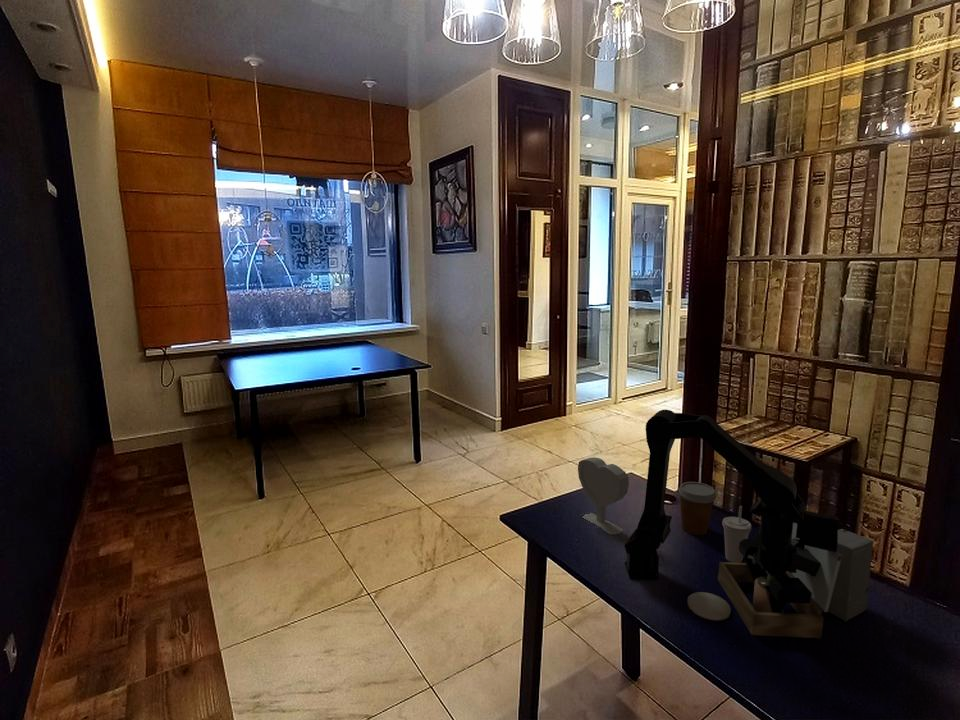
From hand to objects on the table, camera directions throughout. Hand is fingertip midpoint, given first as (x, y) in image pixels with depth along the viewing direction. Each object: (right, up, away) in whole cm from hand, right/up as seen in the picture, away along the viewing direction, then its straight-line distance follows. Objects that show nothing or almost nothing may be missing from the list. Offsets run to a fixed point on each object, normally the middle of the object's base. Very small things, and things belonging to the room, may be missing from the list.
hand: (768, 605), depth 107 cm
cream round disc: (-12, -1, +2) cm, 12 cm away
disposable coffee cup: (-1, +5, +34) cm, 34 cm away
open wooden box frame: (+2, -1, +2) cm, 3 cm away
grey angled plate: (+8, +10, 0) cm, 13 cm away
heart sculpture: (-26, +5, +38) cm, 46 cm away
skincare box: (+16, -1, +2) cm, 16 cm away
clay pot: (0, -2, 0) cm, 2 cm away
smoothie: (+2, +2, +20) cm, 20 cm away
